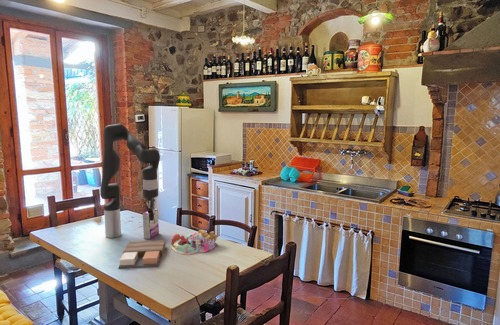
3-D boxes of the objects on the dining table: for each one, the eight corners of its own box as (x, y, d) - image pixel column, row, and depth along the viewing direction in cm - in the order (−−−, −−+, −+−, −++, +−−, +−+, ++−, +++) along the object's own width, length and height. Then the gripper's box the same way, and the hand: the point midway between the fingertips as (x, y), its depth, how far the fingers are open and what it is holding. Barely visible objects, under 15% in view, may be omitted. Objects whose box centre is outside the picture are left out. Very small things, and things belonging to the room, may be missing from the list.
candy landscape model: (195, 236, 212) (195, 222, 210) (224, 244, 198) (224, 229, 197) (164, 249, 192) (164, 233, 190) (194, 259, 178) (193, 242, 177)
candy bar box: (152, 232, 217) (151, 208, 215) (159, 233, 216) (158, 208, 214) (143, 239, 207) (142, 213, 204) (150, 239, 206) (149, 213, 203)
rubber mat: (124, 259, 177) (123, 257, 177) (160, 257, 179) (160, 256, 179) (118, 268, 166) (118, 267, 166) (157, 266, 168) (157, 265, 168)
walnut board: (129, 248, 192) (129, 241, 191) (165, 246, 194) (165, 240, 194) (123, 259, 177) (122, 252, 176) (161, 257, 179) (161, 250, 179)
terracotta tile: (146, 256, 178) (146, 251, 178) (159, 256, 179) (159, 250, 179) (142, 264, 169) (142, 258, 169) (157, 263, 170) (156, 257, 170)
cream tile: (124, 258, 177) (123, 252, 176) (137, 257, 178) (137, 251, 177) (119, 265, 168) (119, 259, 167) (134, 264, 169) (134, 259, 168)
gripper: (145, 185, 180) (146, 216, 182) (140, 190, 167) (141, 224, 169) (159, 184, 181) (160, 216, 183) (156, 190, 168) (157, 223, 170)
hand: (151, 219), depth 176 cm, fingers closed
